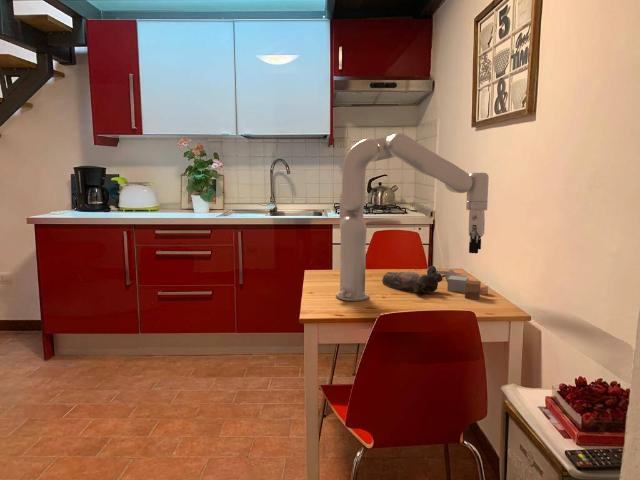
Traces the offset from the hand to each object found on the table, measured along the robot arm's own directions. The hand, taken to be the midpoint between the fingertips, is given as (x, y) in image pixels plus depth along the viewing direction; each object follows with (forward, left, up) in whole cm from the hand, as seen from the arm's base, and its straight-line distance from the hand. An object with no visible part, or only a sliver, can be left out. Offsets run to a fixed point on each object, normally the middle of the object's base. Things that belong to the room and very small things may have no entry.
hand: (474, 251), depth 180 cm
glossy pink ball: (+7, -3, -18) cm, 20 cm away
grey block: (+10, +7, -18) cm, 22 cm away
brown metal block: (0, 0, -18) cm, 18 cm away
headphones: (+28, +16, -19) cm, 38 cm away
